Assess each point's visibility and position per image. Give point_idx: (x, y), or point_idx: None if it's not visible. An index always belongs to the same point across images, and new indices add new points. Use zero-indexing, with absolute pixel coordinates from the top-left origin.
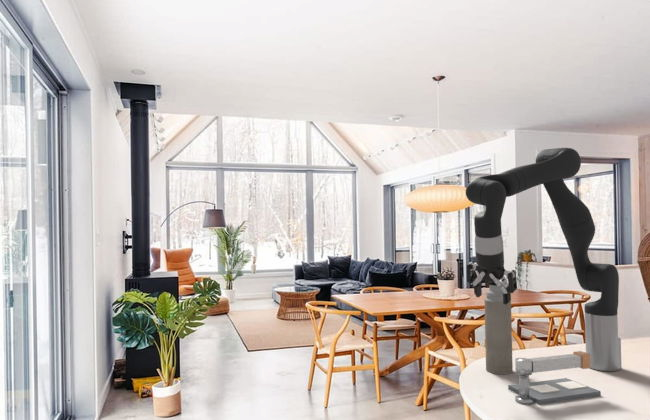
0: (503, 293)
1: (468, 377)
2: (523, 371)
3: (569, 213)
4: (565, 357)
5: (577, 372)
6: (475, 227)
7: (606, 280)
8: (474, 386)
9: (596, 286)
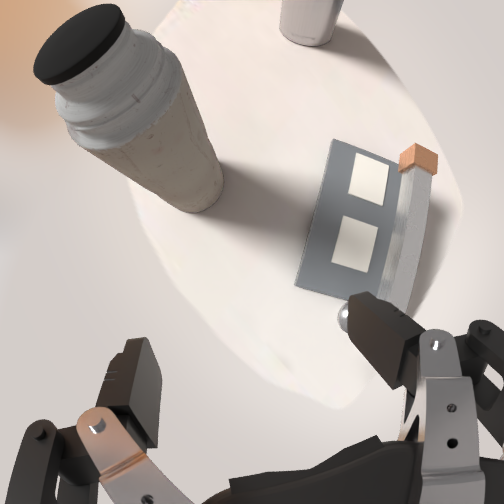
0: (395, 386)
1: (185, 286)
2: None
3: None
4: (425, 217)
5: (301, 74)
6: None
7: None
8: (236, 327)
9: None
